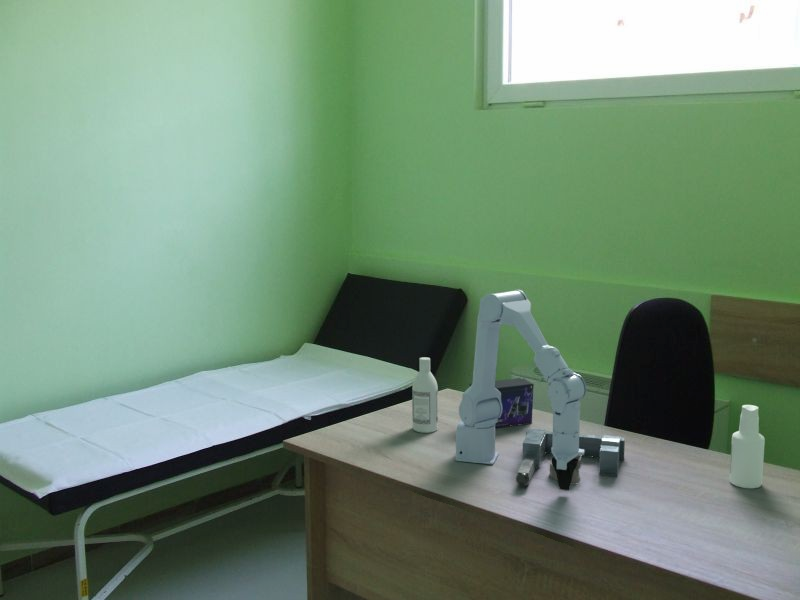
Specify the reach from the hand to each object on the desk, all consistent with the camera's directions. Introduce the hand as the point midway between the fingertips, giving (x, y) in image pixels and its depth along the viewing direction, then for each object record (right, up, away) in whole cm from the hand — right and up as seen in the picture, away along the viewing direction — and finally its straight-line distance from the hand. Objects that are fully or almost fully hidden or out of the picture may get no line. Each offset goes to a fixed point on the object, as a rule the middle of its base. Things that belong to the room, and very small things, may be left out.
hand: (564, 488), depth 182 cm
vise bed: (+6, +2, +19) cm, 20 cm away
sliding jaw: (-5, +1, +14) cm, 15 cm away
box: (-8, +7, +48) cm, 49 cm away
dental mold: (+3, 0, +10) cm, 11 cm away
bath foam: (-29, +6, +44) cm, 53 cm away
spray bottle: (+42, 0, +5) cm, 42 cm away
